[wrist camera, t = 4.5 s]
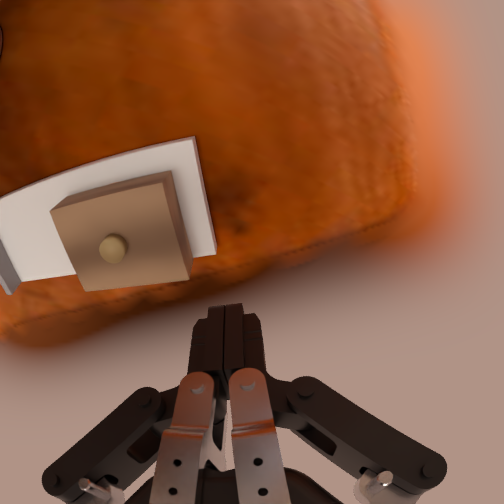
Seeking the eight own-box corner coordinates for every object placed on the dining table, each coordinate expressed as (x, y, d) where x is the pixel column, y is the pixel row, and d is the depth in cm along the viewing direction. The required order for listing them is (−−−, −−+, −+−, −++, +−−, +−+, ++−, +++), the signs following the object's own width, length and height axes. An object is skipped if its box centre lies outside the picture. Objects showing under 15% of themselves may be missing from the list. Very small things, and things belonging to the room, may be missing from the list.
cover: (66, 196, 21) (42, 216, 18) (171, 170, 21) (158, 187, 17) (96, 272, 25) (81, 298, 22) (193, 258, 25) (187, 287, 22)
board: (-10, 202, 22) (-31, 217, 18) (194, 136, 21) (187, 145, 18) (22, 275, 27) (7, 295, 24) (216, 245, 26) (214, 270, 23)
